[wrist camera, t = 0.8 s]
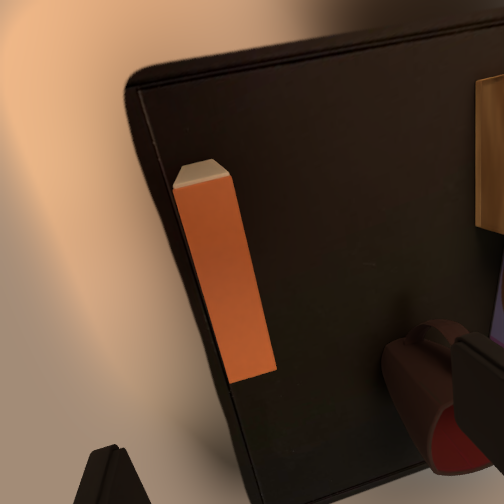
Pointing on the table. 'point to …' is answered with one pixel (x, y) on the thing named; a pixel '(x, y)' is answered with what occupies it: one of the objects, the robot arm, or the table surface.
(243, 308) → the book
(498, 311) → the cereal box
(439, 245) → the table surface
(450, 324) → the cup
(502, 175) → the book rack
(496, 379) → the robot arm
